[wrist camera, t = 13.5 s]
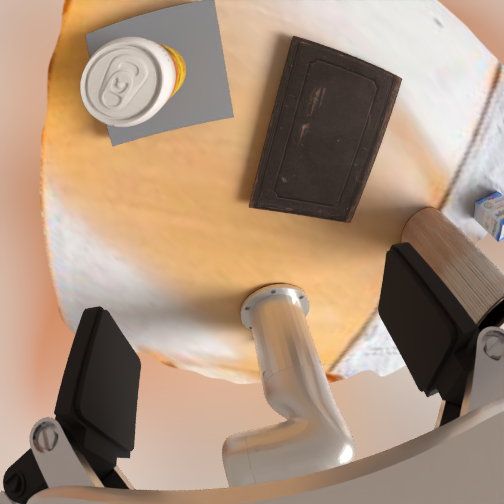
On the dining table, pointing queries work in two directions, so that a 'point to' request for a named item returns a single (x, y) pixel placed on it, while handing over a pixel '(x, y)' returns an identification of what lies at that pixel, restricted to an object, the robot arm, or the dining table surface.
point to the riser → (196, 60)
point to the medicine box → (491, 214)
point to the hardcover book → (323, 133)
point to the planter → (458, 265)
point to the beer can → (130, 80)
